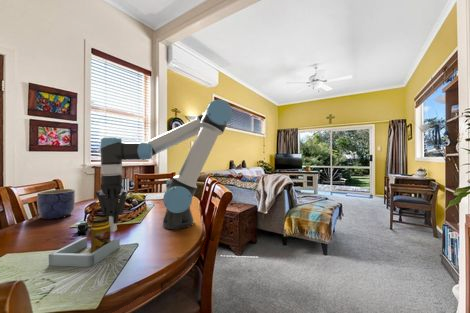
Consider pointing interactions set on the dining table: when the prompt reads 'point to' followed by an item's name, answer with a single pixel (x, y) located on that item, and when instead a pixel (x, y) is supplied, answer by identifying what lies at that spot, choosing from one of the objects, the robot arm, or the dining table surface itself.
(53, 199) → the planter
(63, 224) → the dining table surface
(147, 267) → the dining table surface
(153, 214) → the dining table surface
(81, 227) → the black angular block
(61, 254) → the bay
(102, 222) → the condiment
